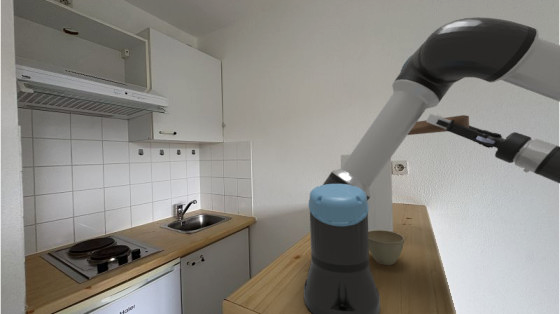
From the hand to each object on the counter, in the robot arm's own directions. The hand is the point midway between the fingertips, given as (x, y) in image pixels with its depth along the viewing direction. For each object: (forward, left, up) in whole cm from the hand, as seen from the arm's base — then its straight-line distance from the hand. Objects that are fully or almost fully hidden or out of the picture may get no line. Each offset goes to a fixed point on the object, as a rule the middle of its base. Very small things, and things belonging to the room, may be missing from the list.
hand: (432, 118), depth 74 cm
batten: (0, +3, -5) cm, 6 cm away
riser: (-11, +18, -41) cm, 46 cm away
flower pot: (-24, +3, -41) cm, 48 cm away
